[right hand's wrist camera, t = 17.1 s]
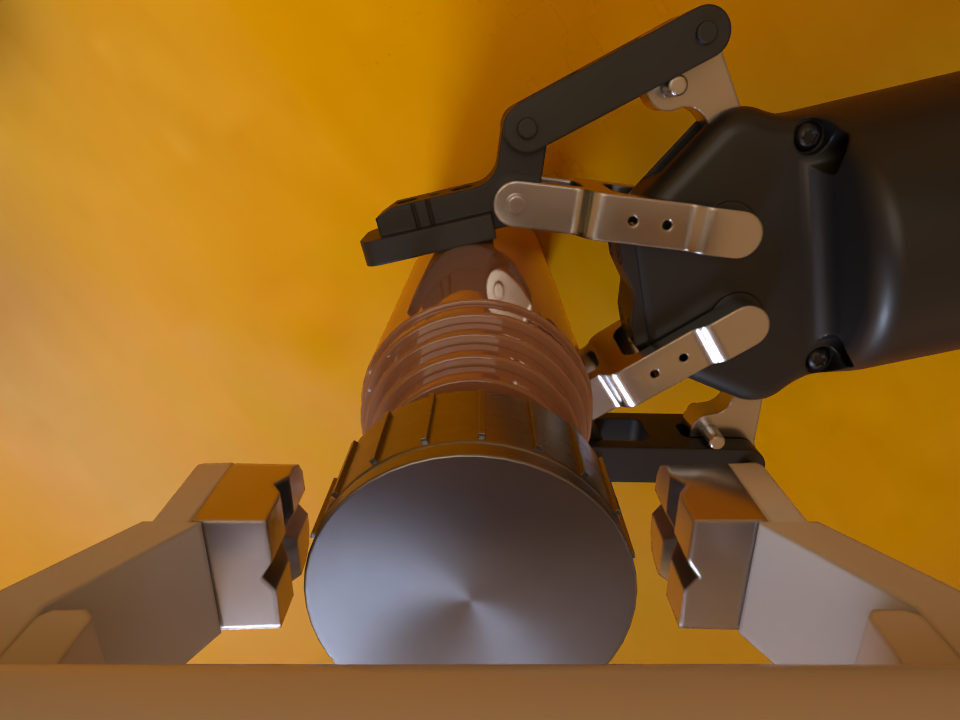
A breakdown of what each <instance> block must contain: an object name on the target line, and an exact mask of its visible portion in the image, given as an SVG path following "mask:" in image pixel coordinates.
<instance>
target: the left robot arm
mask: <svg viewBox="0 0 960 720" xmlns="http://www.w3.org/2000/svg"><path fill="white" fill-rule="evenodd" d="M730 35H731V23H730V19H729V17H728V15H727V13H726V12H725V11H724V10H723V9H722V8H720V7H718V6H716V5H711V4H706V5H702V6H699V7H697V8H695V9H693V10H690V11H688V12H686V13H684V14H681V15H679V16H677V17H675V18H672V19H670V20H668V21H666V22H665V23H663V24H661V25H659V26H657V27H655V28H654V29H652V30H650V31H648V32H646V33H644V34H643V35H641V36H639V37H637V38H635V39H633V40H632V41H630V42H628V43H626V44H624V45H622V46H620V47H619V48H617V49H615V50H613V51H611V52H609V53H608V54H606V55H604V56H602V57H600V58H598V59H597V60H595V61H593V62H591V63H589V64H587V65H586V66H584V67H582V68H580V69H578V70H576V71H574V72H573V73H571V74H569V75H567V76H565V77H563V78H562V79H560V80H558V81H556V82H554V83H552V84H551V85H549V86H547V87H545V88H543V89H541V90H540V91H538V92H536V93H534V94H532V95H530V96H528V97H527V98H525V99H523V100H521V101H519V102H517V103H516V104H514V105H512V106H510V107H509V108H508V109H507V110H506V111H505V112H504V114H503V116H502V119H501V124H500V126H501V129H500V137H499V144H498V152H497V159H496V163H495V166H494V168H493V169H492V171H491V172H490V173H489V174H488V175H487V176H486V177H485V178H484V179H482V180H480V181H477V182H473V183H469V184H465V185H461V186H456V187H452V188H448V189H444V190H440V191H435V192H432V193H427V194H423V195H418V196H414V197H410V198H406V199H401V200H397V201H396V202H395V203H393V204H392V205H391V206H389V207H388V208H386V209H385V210H384V211H382V213H381V214H380V215H379V216H378V217H377V218H376V222H377V225H378V229H375V230H372V231H370V232H368V233H367V234H366V235H365V236H364V238H363V239H362V240H361V241H360V243H361V246H362V249H363V253H364V256H365V260H366V263H367V266H378V265H383V264H387V263H392V262H396V261H401V260H405V259H409V258H414V257H418V256H422V255H427V254H431V253H436V252H440V251H444V250H449V249H452V248H455V247H459V246H464V245H471V244H475V243H479V242H484V241H488V240H493V239H497V238H496V230H495V229H499V228H503V227H507V226H510V227H515V228H524V229H532V230H541V231H549V232H558V233H566V234H573V235H577V236H580V237H583V238H587V239H591V240H598V241H606V242H608V245H609V251H610V255H611V257H612V259H613V261H614V264H615V266H616V268H617V270H618V272H619V274H620V287H619V296H618V308H619V314H620V320H619V321H617V322H615V323H614V324H612V325H610V326H608V327H607V328H605V329H603V330H602V331H600V332H598V333H597V334H595V335H594V336H593V337H592V338H591V339H590V341H589V343H588V344H587V345H586V346H585V347H584V348H582V349H580V353H581V356H582V359H583V361H584V364H585V367H586V369H587V373H588V376H589V379H590V383H591V389H592V396H593V412H592V429H591V436H590V440H589V443H588V444H589V445H590V446H591V448H592V449H593V450H594V452H595V453H596V455H597V457H598V458H599V457H601V456H602V458H603V459H604V462H605V465H606V468H607V471H608V474H609V477H610V480H611V482H656V477H657V473H658V470H659V467H660V466H663V465H690V464H735V463H758V464H760V465H762V466H763V467H764V468H765V461H764V458H763V457H762V455H761V454H760V453H759V452H758V450H757V449H756V448H755V445H754V439H755V434H756V429H757V424H758V419H759V414H760V408H761V403H762V399H763V398H767V397H769V396H772V395H774V394H775V393H777V392H778V391H780V390H781V389H783V388H784V387H785V386H787V385H788V384H790V383H791V382H793V381H795V380H797V379H799V378H801V377H803V376H805V375H808V374H812V373H819V372H833V371H850V370H859V369H864V368H869V367H874V366H879V365H884V364H889V363H894V362H899V361H904V360H909V359H914V358H918V357H923V356H928V355H933V354H938V353H943V352H948V351H953V350H958V349H960V71H957V72H953V73H949V74H945V75H941V76H936V77H932V78H928V79H924V80H919V81H915V82H911V83H907V84H903V85H898V86H894V87H890V88H886V89H882V90H877V91H873V92H869V93H865V94H860V95H856V96H852V97H848V98H844V99H839V100H835V101H831V102H827V103H823V104H818V105H814V106H810V107H806V108H801V109H797V110H793V111H789V112H784V113H776V114H774V113H770V112H766V111H763V110H760V109H757V108H754V107H749V106H740V104H739V101H738V98H737V95H736V92H735V89H734V86H733V83H732V80H731V77H730V74H729V71H728V68H727V65H726V63H725V60H724V57H723V54H722V51H723V49H724V48H725V47H726V45H727V43H728V41H729V39H730ZM638 97H640V98H641V100H642V102H643V103H644V105H646V106H647V107H648V108H650V109H652V110H655V111H673V110H676V109H679V108H685V109H687V110H688V111H690V112H691V113H692V114H693V115H694V117H695V119H696V122H695V123H694V124H693V125H692V126H691V127H690V128H689V129H688V130H687V131H686V132H685V133H684V134H683V136H682V137H681V138H680V139H679V140H678V141H677V142H676V143H675V144H674V145H673V146H672V147H671V148H670V149H669V151H668V152H667V153H666V154H665V155H664V156H663V157H662V158H661V159H660V160H659V161H658V162H657V163H656V164H655V166H654V167H653V168H652V169H651V170H650V171H649V172H648V173H647V174H646V175H645V176H644V177H643V178H642V179H641V180H640V182H639V183H638V184H637V185H628V184H620V183H612V182H603V181H595V180H587V179H567V178H559V177H551V176H542V171H543V165H544V158H545V152H546V146H547V145H548V144H550V143H552V142H554V141H556V140H558V139H560V138H562V137H564V136H566V135H567V134H569V133H571V132H573V131H575V130H577V129H579V128H581V127H583V126H585V125H586V124H588V123H590V122H592V121H594V120H596V119H598V118H600V117H602V116H603V115H605V114H607V113H609V112H611V111H613V110H615V109H617V108H619V107H621V106H622V105H624V104H626V103H628V102H630V101H632V100H634V99H636V98H638ZM686 378H690V379H693V380H695V381H698V382H700V383H703V384H705V385H707V386H710V387H712V388H715V389H717V390H720V393H719V394H718V395H717V396H716V397H715V398H713V399H712V400H710V401H707V402H700V403H692V404H690V405H689V406H688V407H687V410H686V411H685V412H684V414H647V413H607V412H609V411H611V410H612V409H614V408H617V407H620V406H623V407H633V406H636V405H638V404H640V403H642V402H644V401H646V400H648V399H649V398H651V397H653V396H655V395H657V394H659V393H660V392H662V391H664V390H666V389H668V388H669V387H671V386H673V385H675V384H677V383H679V382H680V381H682V380H684V379H686Z"/></svg>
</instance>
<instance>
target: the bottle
mask: <svg viewBox="0 0 960 720" xmlns="http://www.w3.org/2000/svg"><path fill="white" fill-rule="evenodd" d="M495 230H496V238H497V239H493V240H488V241H484V242H479V243H475V244H471V245H464V246H459V247H455V248H452V249H449V250H444V251H440V252H436V253H431V254H427V255H422V256H418V258H417V260H416V262H415V265H414V267H413V269H412V271H411V274H410V276H409V278H408V280H407V282H406V285H405V287H404V289H403V291H402V293H401V296H400V298H399V300H398V302H397V304H396V307H395V309H394V311H393V313H392V315H391V318H390V320H389V322H388V324H387V326H386V329H385V331H384V333H383V335H382V337H381V340H380V342H379V344H378V346H377V348H376V351H375V353H374V355H373V357H372V359H371V362H370V364H369V366H368V368H367V372H366V375H365V378H364V382H363V388H362V395H361V426H362V433H363V435H364V434H365V433H366V432H367V431H368V430H369V429H370V428H371V427H372V426H373V425H374V424H375V423H377V422H378V421H380V420H381V419H382V418H383V416H384V413H385V412H387V411H390V412H393V411H395V410H397V409H399V408H400V407H402V406H404V405H406V404H408V403H411V402H414V401H416V400H419V399H422V398H424V397H428V396H429V393H433V392H435V395H437V394H441V393H446V392H455V391H480V388H483V389H486V391H489V392H497V393H503V394H507V395H511V396H515V397H519V398H522V399H525V400H527V401H529V399H533V400H535V404H538V405H540V406H542V407H544V408H545V409H547V410H549V411H551V412H553V413H555V414H556V415H558V416H559V417H560V418H562V419H563V420H565V421H566V422H567V423H569V424H571V423H574V424H575V425H576V428H577V431H578V433H580V434H581V435H582V436H583V437H584V439H585V440H586V441H587V442H588V443H589V440H590V436H591V429H592V412H593V396H592V389H591V383H590V379H589V376H588V373H587V369H586V367H585V364H584V361H583V359H582V356H581V353H580V350H579V348H578V345H577V342H576V340H575V337H574V334H573V332H572V329H571V326H570V323H569V321H568V318H567V315H566V313H565V310H564V307H563V305H562V302H561V299H560V296H559V294H558V291H557V288H556V286H555V283H554V280H553V278H552V275H551V272H550V269H549V267H548V264H547V261H546V259H545V256H544V253H543V251H542V248H541V245H540V243H539V241H538V239H537V237H536V235H535V233H534V232H533V230H532V229H524V228H515V227H510V226H507V227H503V228H499V229H495Z"/></svg>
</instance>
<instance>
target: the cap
mask: <svg viewBox="0 0 960 720" xmlns="http://www.w3.org/2000/svg"><path fill="white" fill-rule="evenodd" d="M310 537H311V538H314V540H313V543H312V545H311V548H310V550H309V553H308V557H307V562H306V567H305V574H304V593H305V601H306V608H307V611H308V615H309V618H310V622H311V624H312V627H313V629H314V631H315V633H316V635H317V638H318V640H319V641H320V643H321V644H322V646H323V647H324V649H325V650H326V652H327V654H328V655H329V656H330V657H331V658H332V660H333V661H334V662H335V663H336V664H608V663H609V662H610V660H611V659H612V658H613V657H614V655H615V654H616V652H617V651H618V649H619V648H620V646H621V645H622V643H623V641H624V639H625V637H626V634H627V632H628V630H629V628H630V625H631V622H632V618H633V614H634V611H635V605H636V596H637V580H636V571H635V566H634V562H633V558H635V553H634V550H633V547H632V544H631V541H630V538H629V535H628V532H627V529H626V526H625V522H624V519H623V516H622V513H621V510H620V507H619V504H618V501H617V498H616V496H615V493H614V490H613V487H612V484H611V480H610V477H609V474H608V471H607V468H606V465H605V462H604V459H603V458H602V456H601V457H599V458H598V457H597V455H596V453H595V452H594V450H593V449H592V448H591V446H590V445H589V444H588V442H587V441H586V440H585V439H584V437H583V436H582V435H581V434H580V433H578V431H577V428H576V425H575V424H574V423H571V424H569V423H567V422H566V421H565V420H563V419H562V418H560V417H559V416H558V415H556V414H555V413H553V412H551V411H549V410H547V409H545V408H544V407H542V406H540V405H538V404H535V400H533V399H529V401H527V400H525V399H522V398H519V397H515V396H511V395H507V394H503V393H497V392H489V391H486V389H483V388H480V391H455V392H446V393H441V394H437V395H435V392H433V393H429V396H428V397H424V398H422V399H419V400H416V401H414V402H411V403H408V404H406V405H404V406H402V407H400V408H399V409H397V410H395V411H393V412H390V411H387V412H385V413H384V416H383V418H382V419H381V420H380V421H378V422H377V423H375V424H374V425H373V426H372V427H371V428H370V429H369V430H368V431H367V432H366V433H365V434H364V435H363V436H362V437H361V438H360V440H359V441H358V442H356V441H355V440H354V441H353V442H352V444H351V446H350V449H349V451H348V454H347V456H346V459H345V461H344V464H343V466H342V469H341V471H340V474H339V476H338V479H337V478H334V479H333V482H332V484H331V486H330V489H329V491H328V494H327V496H326V499H325V501H324V504H323V506H322V508H321V511H320V513H319V516H318V518H317V521H316V523H315V525H314V528H313V530H312V533H311V536H310Z"/></svg>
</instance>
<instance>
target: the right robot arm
mask: <svg viewBox="0 0 960 720" xmlns="http://www.w3.org/2000/svg"><path fill="white" fill-rule="evenodd" d="M304 491H305V486H304V479H303V473H302V470H301V468H300V466H299V465H294V464H242V463H236V464H234V463H204V464H199V465H197V467H196V468H195V469H194V470H193V471H192V473H191V474H190V475H189V477H188V478H187V479H186V480H185V482H184V483H183V484H182V485H181V487H180V488H179V489H178V490H177V492H176V493H175V494H174V495H173V497H172V498H171V499H170V500H169V502H168V503H167V504H166V505H165V507H164V508H163V509H162V510H161V512H160V513H159V514H158V516H157V517H156V518H155V519H154V521H153V522H141V523H139V524H137V525H134V526H132V527H130V528H128V529H126V530H124V531H122V532H120V533H118V534H116V535H114V536H112V537H110V538H108V539H106V540H104V541H102V542H99V543H97V544H95V545H93V546H91V547H89V548H87V549H85V550H83V551H81V552H79V553H77V554H75V555H73V556H71V557H69V558H66V559H64V560H62V561H60V562H58V563H56V564H54V565H52V566H50V567H48V568H46V569H44V570H42V571H40V572H38V573H36V574H34V575H31V576H29V577H27V578H25V579H23V580H21V581H19V582H17V583H15V584H13V585H11V586H9V587H7V588H5V589H3V590H1V591H0V720H960V591H959V590H957V589H955V588H953V587H951V586H949V585H947V584H944V583H942V582H940V581H938V580H936V579H934V578H932V577H930V576H928V575H926V574H924V573H922V572H920V571H918V570H916V569H914V568H912V567H910V566H908V565H905V564H903V563H901V562H899V561H897V560H895V559H893V558H891V557H889V556H887V555H885V554H883V553H881V552H879V551H877V550H875V549H873V548H871V547H869V546H866V545H864V544H862V543H860V542H858V541H856V540H854V539H852V538H850V537H848V536H846V535H844V534H842V533H840V532H838V531H836V530H834V529H832V528H830V527H827V526H825V525H823V524H821V523H819V522H807V521H806V519H805V518H804V517H803V516H802V514H801V513H800V512H799V511H798V509H797V508H796V507H795V506H794V504H793V503H792V502H791V501H790V499H789V498H788V497H787V496H786V494H785V493H784V492H783V491H782V489H781V488H780V487H779V486H778V484H777V483H776V482H775V481H774V479H773V478H772V477H771V476H770V474H769V473H768V472H767V471H766V469H765V468H764V467H763V466H762V465H760V464H758V463H735V464H690V465H663V466H660V467H659V470H658V473H657V477H656V485H655V491H656V493H657V495H658V497H659V500H660V502H661V505H660V506H659V507H658V508H657V509H656V510H655V511H654V512H653V514H652V522H651V548H652V554H653V559H654V563H655V566H656V569H657V571H658V574H659V575H660V576H662V577H663V578H664V579H666V580H667V581H668V586H667V594H666V595H667V598H668V600H669V603H670V605H671V608H672V611H673V613H674V616H675V618H676V621H677V623H678V626H679V628H700V629H736V630H739V633H740V634H741V635H742V636H744V637H745V638H746V639H747V640H748V641H749V642H750V643H752V644H753V645H754V646H755V647H756V648H757V649H758V650H760V651H761V652H762V653H763V654H764V655H765V656H766V657H768V658H769V659H770V660H771V661H772V662H773V663H774V664H186V663H187V662H188V661H189V660H190V659H192V658H193V657H194V656H195V655H196V654H197V653H198V652H200V651H201V650H202V649H203V648H204V647H205V646H206V645H208V644H209V643H210V642H211V641H212V640H213V639H214V638H216V637H217V636H218V635H219V634H220V633H221V630H223V629H259V628H281V626H282V623H283V621H284V618H285V616H286V613H287V610H288V608H289V605H290V603H291V600H292V598H293V586H292V581H293V580H294V579H296V578H297V577H298V576H300V575H301V574H302V571H303V568H304V566H305V563H306V559H307V552H308V546H309V521H308V514H307V513H306V511H305V510H304V509H303V508H302V507H301V506H300V505H299V502H300V500H301V497H302V495H303V493H304Z"/></svg>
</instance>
